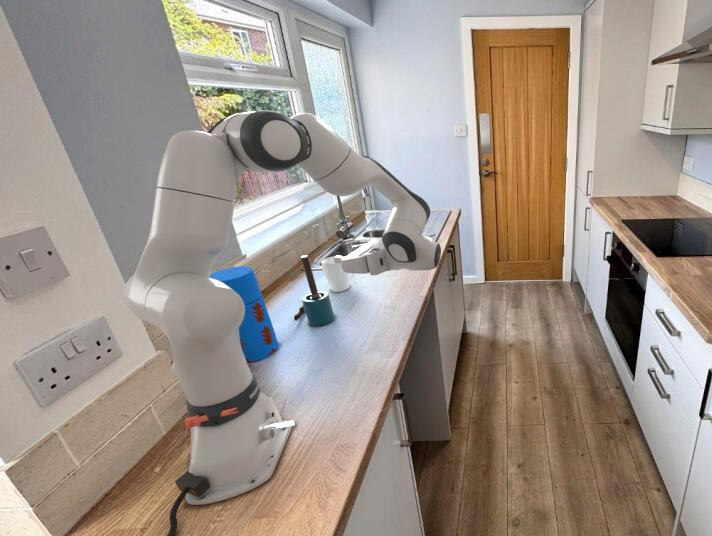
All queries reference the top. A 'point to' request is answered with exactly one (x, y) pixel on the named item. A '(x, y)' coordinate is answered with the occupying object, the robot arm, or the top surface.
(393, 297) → the top surface
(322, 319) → the teal hollow cylinder
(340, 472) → the top surface
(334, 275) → the cup
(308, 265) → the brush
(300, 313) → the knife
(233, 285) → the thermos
